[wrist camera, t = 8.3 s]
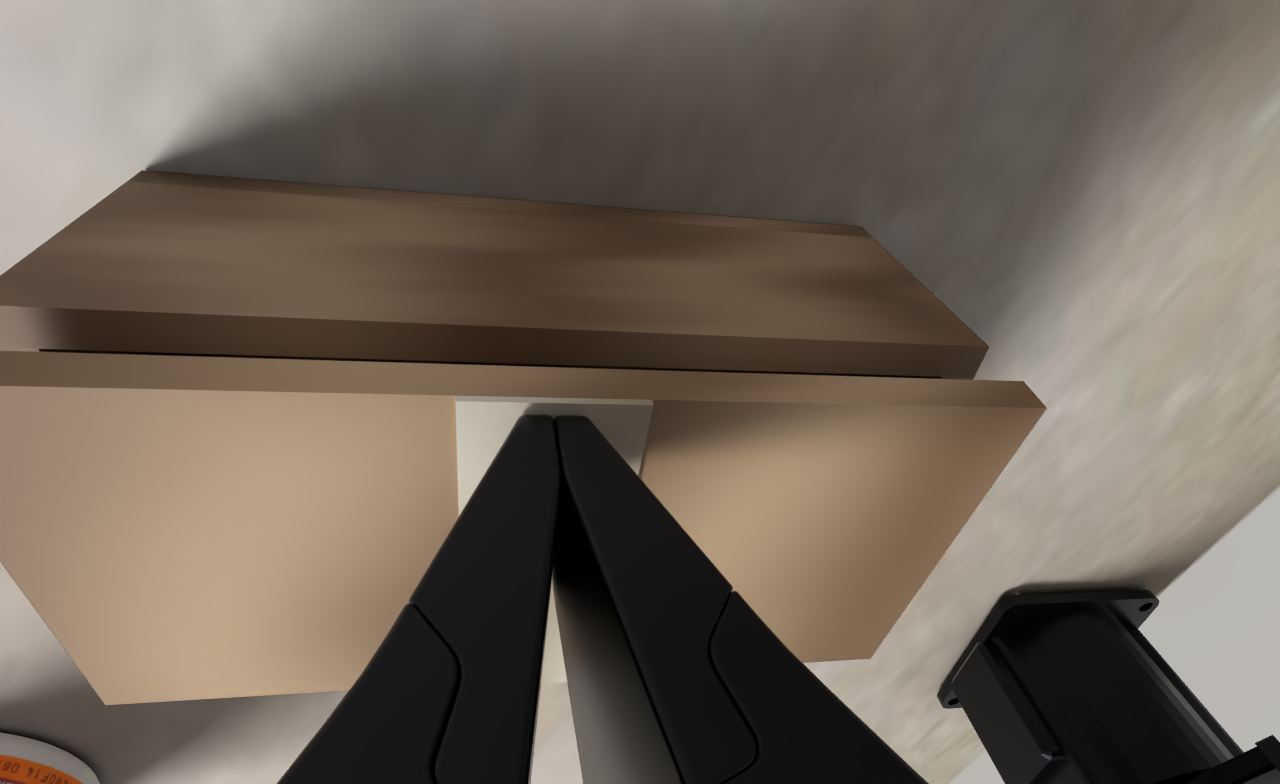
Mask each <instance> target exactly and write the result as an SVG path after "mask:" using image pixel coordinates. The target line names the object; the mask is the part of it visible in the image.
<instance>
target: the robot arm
mask: <svg viewBox="0 0 1280 784" xmlns="http://www.w3.org/2000/svg"><path fill="white" fill-rule="evenodd" d="M551 582H552V583H553V592H554V600H555V607H556V614H557V620H558V626H559V633H560V639H561V645H562V651H563V658H564V664H565V670H566V677H567V683H568V689H569V696H570V702H571V708H572V715H573V721H574V727H575V733H576V740H577V746H578V752H579V759H580V765H581V771H582V778H583V784H929V783H928V782H926V781H925V780H924V779H923V778H922V777H921V776H920V775H919V774H918V773H917V772H916V771H914V770H913V769H912V768H911V767H910V766H909V765H908V764H907V763H906V762H905V761H904V760H903V759H902V758H901V757H900V756H899V755H898V754H897V753H896V752H894V751H893V750H892V749H891V748H890V747H889V746H888V745H887V744H886V743H885V742H884V741H883V740H882V739H881V738H880V737H879V736H878V735H877V734H876V733H874V732H873V731H872V730H871V729H870V728H869V727H868V726H867V725H866V724H865V723H864V722H863V721H862V720H861V719H860V718H859V717H858V716H857V715H856V714H855V713H853V712H852V711H851V710H850V709H849V708H848V707H847V706H846V705H845V704H844V703H843V702H842V701H841V700H840V699H839V698H838V697H837V696H836V695H835V694H833V693H832V692H831V691H830V690H829V689H828V688H827V687H826V686H825V685H824V684H823V683H822V682H821V681H820V680H819V679H818V678H817V677H816V676H815V675H814V674H813V673H812V672H811V671H810V670H809V669H808V668H807V667H806V666H805V665H804V664H803V663H802V662H801V661H800V660H799V659H798V658H797V657H796V656H795V655H794V654H793V653H792V652H791V651H790V650H789V649H788V648H787V647H786V646H785V645H784V644H783V643H782V641H781V640H780V639H779V638H778V637H777V636H776V635H775V634H774V633H773V631H772V630H771V629H770V628H769V627H768V626H767V625H766V624H765V623H764V622H763V620H762V619H761V618H760V617H759V616H758V615H757V614H756V613H755V611H754V610H753V609H752V608H751V607H750V606H749V604H748V603H747V602H746V601H745V600H744V599H743V597H742V596H741V595H740V594H739V593H738V592H737V591H733V592H732V590H733V587H732V585H731V584H730V583H729V581H728V580H727V579H726V578H725V577H724V576H723V574H722V573H721V572H720V571H719V570H718V569H717V567H716V566H715V565H714V564H713V563H712V562H711V560H710V559H709V558H708V557H707V556H706V555H705V553H704V552H703V551H702V550H701V549H700V548H699V546H698V545H697V544H696V543H695V542H694V541H693V539H692V538H691V537H690V536H689V535H688V534H687V532H686V531H685V530H684V529H683V528H682V527H681V525H680V524H679V523H678V522H677V521H676V520H675V518H674V517H673V516H672V515H671V514H670V513H669V511H668V510H667V509H666V508H665V507H664V506H663V504H662V503H661V502H660V501H659V500H658V499H657V497H656V496H655V495H654V494H653V493H652V492H651V490H650V489H649V488H648V487H647V486H646V485H645V483H644V482H643V481H642V480H641V479H640V478H639V476H638V475H637V474H636V473H635V472H634V470H633V469H632V468H631V467H630V466H629V465H628V463H627V462H626V461H625V460H624V459H623V458H622V456H621V455H620V454H619V453H618V452H617V451H616V449H615V448H614V447H613V446H612V445H611V444H610V442H609V441H608V440H607V439H606V438H605V437H604V435H603V434H602V433H601V432H600V431H599V430H598V428H597V427H596V426H595V425H594V424H593V423H592V421H591V420H590V419H589V418H588V417H586V416H578V415H559V416H557V417H556V418H555V419H554V420H553V418H552V417H551V416H549V415H522V416H520V417H519V418H518V420H517V421H516V423H515V424H514V426H513V428H512V429H511V431H510V433H509V434H508V436H507V438H506V439H505V441H504V443H503V444H502V446H501V448H500V449H499V451H498V453H497V454H496V456H495V458H494V459H493V461H492V463H491V464H490V466H489V467H488V469H487V471H486V472H485V474H484V476H483V477H482V479H481V481H480V482H479V484H478V486H477V487H476V489H475V491H474V492H473V494H472V496H471V497H470V499H469V501H468V502H467V504H466V505H465V507H464V509H463V510H462V512H461V514H460V515H459V517H458V519H457V520H456V522H455V524H454V525H453V527H452V529H451V530H450V532H449V534H448V535H447V537H446V539H445V540H444V542H443V544H442V545H441V547H440V548H439V550H438V552H437V553H436V555H435V557H434V558H433V560H432V562H431V563H430V565H429V567H428V568H427V570H426V572H425V573H424V575H423V577H422V578H421V580H420V582H419V583H418V585H417V587H416V588H415V590H414V591H413V593H412V595H411V596H410V598H409V604H406V605H405V606H404V607H403V609H402V611H401V612H400V614H399V616H398V617H397V619H396V621H395V622H394V624H393V626H392V627H391V629H390V630H389V632H388V634H387V635H386V637H385V638H384V640H383V641H382V643H381V644H380V646H379V647H378V649H377V651H376V652H375V654H374V655H373V657H372V658H371V660H370V661H369V663H368V664H367V666H366V667H365V669H364V670H363V672H362V673H361V675H360V676H359V678H358V679H357V680H356V682H355V683H354V684H353V686H352V687H351V688H350V690H349V691H348V692H347V694H346V695H345V696H344V698H343V699H342V700H341V702H340V703H339V704H338V706H337V707H336V708H335V710H334V711H333V712H332V714H331V715H330V717H329V718H328V719H327V721H326V722H325V723H324V724H323V726H322V727H321V728H320V729H319V731H318V732H317V733H316V735H315V736H314V737H313V738H312V740H311V741H310V742H309V743H308V745H307V746H306V747H305V749H304V750H303V751H302V752H301V754H300V755H299V756H298V757H297V759H296V760H295V761H294V762H293V764H292V765H291V766H290V768H289V769H288V770H287V771H286V773H285V774H284V775H283V776H282V778H281V779H280V780H279V781H278V783H277V784H530V783H531V773H532V764H533V754H534V745H535V735H536V726H537V716H538V707H539V697H540V688H541V678H542V669H543V659H544V650H545V641H546V631H547V622H548V612H549V602H550V592H551ZM1158 604H1159V600H1158V599H1157V598H1156V597H1155V596H1154V595H1153V593H1152V592H1151V591H1150V590H1145V589H1144V590H1121V591H1097V592H1073V593H1050V594H1026V595H1012V596H1008V597H1006V598H1004V599H1002V600H1001V601H1000V602H999V603H998V604H997V605H996V607H995V608H994V610H993V611H992V613H991V614H990V616H989V617H988V619H987V620H986V621H985V623H984V624H983V626H982V627H981V629H980V630H979V632H978V633H977V635H976V636H975V638H974V639H973V641H972V642H971V644H970V645H969V647H968V648H967V650H966V651H965V653H964V654H963V656H962V657H961V659H960V660H959V662H958V663H957V665H956V666H955V668H954V669H953V671H952V672H951V674H950V675H949V677H948V678H947V680H946V681H945V683H944V684H943V686H942V687H941V689H940V690H939V692H938V694H937V697H938V699H939V701H940V703H941V705H942V707H943V708H947V709H950V708H963V709H964V711H965V713H966V714H967V716H968V718H969V720H970V722H971V723H972V725H973V727H974V729H975V731H976V732H977V734H978V736H979V738H980V740H981V741H982V743H983V745H984V747H985V748H986V750H987V752H988V754H989V756H990V757H991V759H992V761H993V763H994V765H995V766H996V768H997V770H998V772H999V773H1000V775H1001V777H1002V779H1003V781H1004V782H1005V784H1280V742H1279V741H1278V740H1277V739H1276V738H1275V737H1274V736H1273V735H1272V736H1269V737H1267V738H1265V739H1263V740H1261V741H1259V742H1256V743H1255V744H1256V745H1257V747H1255V748H1253V749H1251V750H1249V751H1247V752H1243V751H1242V750H1241V749H1240V748H1239V746H1238V745H1237V744H1236V743H1235V742H1234V741H1233V739H1232V738H1231V737H1230V736H1229V735H1228V734H1227V732H1226V731H1225V730H1224V729H1223V728H1222V727H1221V725H1220V724H1219V723H1218V722H1217V721H1216V720H1215V718H1214V717H1213V716H1212V715H1211V714H1210V713H1209V712H1208V710H1207V709H1206V708H1205V707H1204V706H1203V704H1202V703H1201V702H1200V701H1199V700H1198V699H1197V698H1196V696H1195V695H1194V694H1193V693H1192V692H1191V691H1190V689H1189V688H1188V687H1187V686H1186V685H1185V683H1184V682H1183V681H1182V680H1181V679H1180V678H1179V676H1178V675H1177V674H1176V673H1175V672H1174V671H1173V670H1172V668H1171V667H1170V666H1169V665H1168V664H1167V663H1166V661H1165V660H1164V659H1163V658H1162V657H1161V655H1159V653H1158V652H1157V651H1156V650H1155V648H1154V647H1153V646H1152V645H1151V644H1150V643H1149V641H1148V640H1147V639H1146V638H1145V637H1144V636H1143V634H1142V633H1141V632H1140V631H1139V630H1138V628H1139V627H1140V626H1141V624H1142V623H1143V622H1144V621H1145V620H1146V619H1147V617H1148V616H1149V615H1150V614H1151V613H1152V612H1153V611H1154V609H1155V608H1156V607H1157V606H1158Z"/></svg>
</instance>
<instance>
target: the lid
mask: <svg viewBox="0 0 1280 784" xmlns="http://www.w3.org/2000/svg"><path fill="white" fill-rule="evenodd" d="M1046 409H1047V408H1046V407H1045V406H1044V404H1043V403H1042V402H1041V401H1040V400H1039V399H1038V398H1037V396H1036V395H1035V394H1034V393H1033V392H1032V391H1031V389H1030V388H1029V387H1028V386H1027V385H1026V384H1025V383H1024V381H992V380H958V379H925V378H892V377H859V376H826V375H793V374H760V373H727V372H694V371H660V370H627V369H594V368H561V367H528V366H495V365H462V364H429V363H395V362H362V361H329V360H296V359H263V358H230V357H197V356H164V355H131V354H97V353H64V352H31V351H0V562H1V563H2V565H3V566H4V568H5V569H6V570H7V572H8V573H9V574H10V576H11V577H12V578H13V580H14V581H15V583H16V584H17V585H18V587H19V588H20V589H21V591H22V592H23V593H24V595H25V596H26V598H27V599H28V600H29V602H30V603H31V604H32V606H33V607H34V608H35V610H36V611H37V613H38V614H39V615H40V617H41V618H42V619H43V621H44V622H45V623H46V625H47V626H48V628H49V629H50V630H51V632H52V633H53V634H54V636H55V637H56V638H57V640H58V641H59V643H60V644H61V645H62V647H63V648H64V649H65V651H66V652H67V653H68V655H69V656H70V658H71V659H72V660H73V662H74V663H75V664H76V666H77V667H78V668H79V670H80V671H81V673H82V674H83V675H84V677H85V678H86V679H87V681H88V682H89V683H90V685H91V686H92V687H93V689H94V690H95V692H96V693H97V694H98V696H99V697H100V698H101V700H102V701H103V702H104V704H105V705H117V704H133V703H150V702H166V701H183V700H199V699H215V698H232V697H248V696H265V695H281V694H298V693H314V692H330V691H347V690H350V688H351V687H352V686H353V684H354V683H355V682H356V680H357V679H358V678H359V676H360V675H361V673H362V672H363V670H364V669H365V667H366V666H367V664H368V663H369V661H370V660H371V658H372V657H373V655H374V654H375V652H376V651H377V649H378V647H379V646H380V644H381V643H382V641H383V640H384V638H385V637H386V635H387V634H388V632H389V630H390V629H391V627H392V626H393V624H394V622H395V621H396V619H397V617H398V616H399V614H400V612H401V611H402V609H403V607H404V606H405V605H406V604H409V598H410V596H411V595H412V593H413V591H414V590H415V588H416V587H417V585H418V583H419V582H420V580H421V578H422V577H423V575H424V573H425V572H426V570H427V568H428V567H429V565H430V563H431V562H432V560H433V558H434V557H435V555H436V553H437V552H438V550H439V548H440V547H441V545H442V544H443V542H444V540H445V539H446V537H447V535H448V534H449V532H450V530H451V529H452V527H453V525H454V524H455V522H456V520H457V519H458V517H459V515H460V514H461V512H462V510H463V509H464V507H465V505H466V504H467V502H468V501H469V499H470V497H471V496H472V494H473V492H474V491H475V489H476V487H477V486H478V484H479V482H480V481H481V479H482V477H483V476H484V474H485V472H486V471H487V469H488V467H489V466H490V464H491V463H492V461H493V459H494V458H495V456H496V454H497V453H498V451H499V449H500V448H501V446H502V444H503V443H504V441H505V439H506V438H507V436H508V434H509V433H510V431H511V429H512V428H513V426H514V424H515V423H516V421H517V420H518V418H519V417H520V416H522V415H549V416H551V417H552V418H553V420H554V419H555V418H556V417H557V416H559V415H578V416H586V417H588V418H589V419H590V420H591V421H592V423H593V424H594V425H595V426H596V427H597V428H598V430H599V431H600V432H601V433H602V434H603V435H604V437H605V438H606V439H607V440H608V441H609V442H610V444H611V445H612V446H613V447H614V448H615V449H616V451H617V452H618V453H619V454H620V455H621V456H622V458H623V459H624V460H625V461H626V462H627V463H628V465H629V466H630V467H631V468H632V469H633V470H634V472H635V473H636V474H637V475H638V476H639V478H640V479H641V480H642V481H643V482H644V483H645V485H646V486H647V487H648V488H649V489H650V490H651V492H652V493H653V494H654V495H655V496H656V497H657V499H658V500H659V501H660V502H661V503H662V504H663V506H664V507H665V508H666V509H667V510H668V511H669V513H670V514H671V515H672V516H673V517H674V518H675V520H676V521H677V522H678V523H679V524H680V525H681V527H682V528H683V529H684V530H685V531H686V532H687V534H688V535H689V536H690V537H691V538H692V539H693V541H694V542H695V543H696V544H697V545H698V546H699V548H700V549H701V550H702V551H703V552H704V553H705V555H706V556H707V557H708V558H709V559H710V560H711V562H712V563H713V564H714V565H715V566H716V567H717V569H718V570H719V571H720V572H721V573H722V574H723V576H724V577H725V578H726V579H727V580H728V581H729V583H730V584H731V585H732V587H733V590H732V592H733V591H737V592H738V593H739V594H740V595H741V596H742V597H743V599H744V600H745V601H746V602H747V603H748V604H749V606H750V607H751V608H752V609H753V610H754V611H755V613H756V614H757V615H758V616H759V617H760V618H761V619H762V620H763V622H764V623H765V624H766V625H767V626H768V627H769V628H770V629H771V630H772V631H773V633H774V634H775V635H776V636H777V637H778V638H779V639H780V640H781V641H782V643H783V644H784V645H785V646H786V647H787V648H788V649H789V650H790V651H791V652H792V653H793V654H794V655H795V656H796V657H797V658H798V659H799V660H800V661H801V662H802V663H806V662H823V661H839V660H855V659H870V658H871V657H872V656H873V654H874V653H875V651H876V650H877V648H878V647H879V646H880V644H881V643H882V641H883V640H884V639H885V637H886V636H887V634H888V633H889V631H890V630H891V629H892V627H893V626H894V624H895V623H896V621H897V620H898V619H899V617H900V616H901V614H902V613H903V612H904V610H905V609H906V607H907V606H908V604H909V603H910V602H911V600H912V599H913V597H914V596H915V595H916V593H917V592H918V590H919V589H920V587H921V586H922V585H923V583H924V582H925V580H926V579H927V577H928V576H929V575H930V573H931V572H932V570H933V569H934V568H935V566H936V565H937V563H938V562H939V560H940V559H941V558H942V556H943V555H944V553H945V552H946V551H947V549H948V548H949V546H950V545H951V543H952V542H953V541H954V539H955V538H956V536H957V535H958V534H959V532H960V531H961V529H962V528H963V526H964V525H965V524H966V522H967V521H968V519H969V518H970V516H971V515H972V514H973V512H974V511H975V509H976V508H977V507H978V505H979V504H980V502H981V501H982V499H983V498H984V497H985V495H986V494H987V492H988V491H989V490H990V488H991V487H992V485H993V484H994V482H995V481H996V480H997V478H998V477H999V475H1000V474H1001V472H1002V471H1003V470H1004V468H1005V467H1006V465H1007V464H1008V463H1009V461H1010V460H1011V458H1012V457H1013V455H1014V454H1015V453H1016V451H1017V450H1018V448H1019V447H1020V446H1021V444H1022V443H1023V441H1024V440H1025V438H1026V437H1027V436H1028V434H1029V433H1030V431H1031V430H1032V429H1033V427H1034V426H1035V424H1036V423H1037V421H1038V420H1039V419H1040V417H1041V416H1042V414H1043V413H1044V411H1045V410H1046ZM562 682H567V677H566V670H565V664H564V658H563V651H562V645H561V639H560V633H559V626H558V620H557V614H556V607H555V600H554V592H553V583H552V582H551V592H550V602H549V612H548V622H547V631H546V641H545V650H544V659H543V669H542V678H541V684H546V683H562Z"/></svg>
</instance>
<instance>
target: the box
mask: <svg viewBox="0 0 1280 784" xmlns="http://www.w3.org/2000/svg"><path fill="white" fill-rule="evenodd" d="M988 348H989V346H988V345H987V344H986V343H985V342H984V341H982V340H981V339H980V338H979V337H978V336H977V335H976V334H975V333H974V332H973V331H972V330H971V329H970V328H969V327H968V326H966V325H965V324H964V323H963V322H962V321H961V320H960V319H959V318H958V317H957V316H956V315H955V314H954V313H953V312H952V311H951V310H949V309H948V308H947V307H946V306H945V305H944V304H943V303H942V302H941V301H940V300H939V299H938V298H937V297H936V296H935V295H933V294H932V293H931V292H930V291H929V290H928V289H927V288H926V287H925V286H924V285H923V284H922V283H921V282H920V281H919V280H917V279H916V278H915V277H914V276H913V275H912V274H911V273H910V272H909V271H908V270H907V269H906V268H905V267H904V266H903V265H901V264H900V263H899V262H898V261H897V260H896V259H895V258H894V257H893V256H892V255H891V254H890V253H889V252H888V251H887V250H885V249H884V248H883V247H882V246H881V245H880V244H879V243H878V242H877V241H876V240H875V239H874V238H873V237H872V236H871V235H869V234H868V233H867V232H866V231H865V230H864V229H863V228H862V227H856V226H843V225H831V224H818V223H805V222H792V221H780V220H767V219H754V218H741V217H729V216H716V215H703V214H690V213H678V212H665V211H652V210H640V209H627V208H614V207H601V206H589V205H576V204H563V203H550V202H538V201H525V200H512V199H499V198H487V197H474V196H461V195H448V194H436V193H423V192H410V191H397V190H385V189H372V188H359V187H346V186H334V185H321V184H308V183H295V182H283V181H270V180H257V179H244V178H232V177H219V176H206V175H193V174H181V173H168V172H155V171H141V172H139V173H138V174H137V175H135V176H134V177H133V178H131V179H130V180H129V181H127V182H126V183H125V184H123V185H122V186H120V187H119V188H118V189H116V190H115V191H114V192H112V193H111V194H110V195H108V196H107V197H106V198H104V199H103V200H102V201H100V202H99V203H98V204H96V205H95V206H94V207H92V208H91V209H90V210H88V211H87V212H85V213H84V214H83V215H81V216H80V217H79V218H77V219H76V220H75V221H73V222H72V223H71V224H69V225H68V226H67V227H65V228H64V229H63V230H61V231H60V232H59V233H57V234H56V235H55V236H53V237H52V238H50V239H49V240H48V241H46V242H45V243H44V244H42V245H41V246H40V247H38V248H37V249H36V250H34V251H33V252H32V253H30V254H29V255H28V256H26V257H25V258H24V259H22V260H21V261H20V262H18V263H17V264H15V265H14V266H13V267H11V268H10V269H9V270H7V271H6V272H5V273H3V274H2V275H1V276H0V351H31V352H64V353H97V354H131V355H164V356H197V357H230V358H263V359H296V360H329V361H362V362H395V363H429V364H462V365H495V366H528V367H561V368H594V369H627V370H660V371H694V372H727V373H760V374H793V375H826V376H859V377H892V378H925V379H958V380H973V378H974V376H975V374H976V372H977V370H978V368H979V366H980V364H981V362H982V360H983V358H984V356H985V354H986V352H987V350H988Z"/></svg>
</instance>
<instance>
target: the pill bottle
mask: <svg viewBox="0 0 1280 784" xmlns="http://www.w3.org/2000/svg"><path fill="white" fill-rule="evenodd" d="M0 784H100V783H99V781H98V779H97V777H96V775H95V773H94V772H93V771H92V770H91V769H90V767H88V766H87V765H86V764H85V763H84V762H82V761H81V760H79V759H78V758H76V757H75V756H73V755H71V754H70V753H68V752H66V751H64V750H62V749H60V748H57V747H55V746H52V745H50V744H47V743H44V742H41V741H38V740H34V739H30V738H26V737H22V736H17V735H13V734H6V733H0Z"/></svg>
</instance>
